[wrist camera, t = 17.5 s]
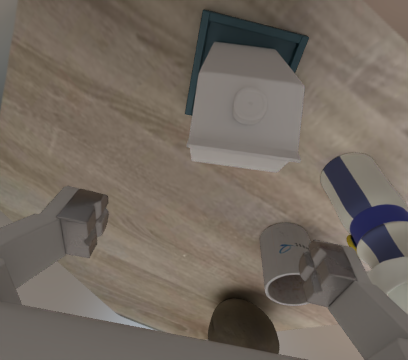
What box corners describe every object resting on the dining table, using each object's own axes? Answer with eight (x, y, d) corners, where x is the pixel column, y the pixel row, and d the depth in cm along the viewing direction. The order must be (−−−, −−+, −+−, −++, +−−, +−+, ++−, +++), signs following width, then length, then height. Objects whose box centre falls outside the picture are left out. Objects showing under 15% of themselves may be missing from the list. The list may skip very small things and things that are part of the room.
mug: (250, 244, 48) (253, 293, 40) (278, 215, 44) (288, 265, 36) (303, 267, 51) (316, 318, 43) (335, 243, 46) (356, 295, 38)
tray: (186, 110, 35) (184, 114, 33) (204, 9, 28) (202, 9, 27) (269, 130, 35) (270, 134, 34) (306, 35, 28) (309, 37, 27)
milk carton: (261, 109, 33) (284, 204, 18) (207, 102, 33) (183, 190, 18) (275, 48, 29) (322, 104, 14) (214, 40, 29) (190, 87, 14)
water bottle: (344, 207, 41) (451, 408, 21) (306, 180, 39) (383, 376, 19) (392, 173, 37) (584, 385, 17) (352, 141, 35) (516, 340, 15)
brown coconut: (228, 321, 66) (226, 394, 54) (200, 291, 59) (191, 367, 47) (281, 311, 61) (293, 390, 49) (257, 277, 54) (264, 358, 42)
